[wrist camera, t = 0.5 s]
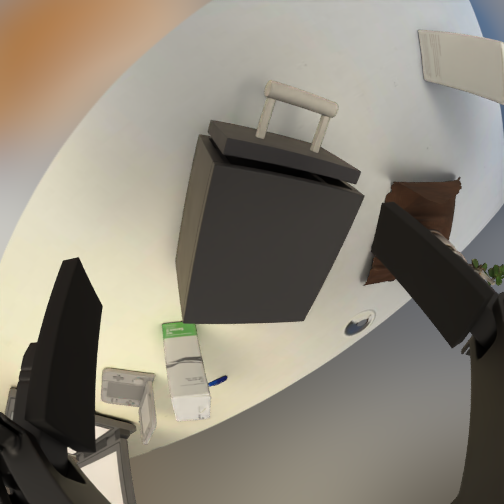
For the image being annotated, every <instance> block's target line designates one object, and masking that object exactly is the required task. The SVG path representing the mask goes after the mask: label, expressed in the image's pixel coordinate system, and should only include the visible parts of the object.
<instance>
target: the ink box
mask: <svg viewBox="0 0 504 504" xmlns="http://www.w3.org/2000/svg"><path fill="white" fill-rule="evenodd" d="M162 329H163V340H164V351H165V360H166V369H167V377H168V383H169V390H170V396H171V401H172V405H173V409H174V414H175V417H176V421H189V420H201V419H208V418H210V407H211V396H210V391H209V387H208V383H207V379H206V374H205V369H204V365H203V360H202V355H201V350H200V345H199V340H198V335H197V330H196V325H195V324H183V322H177V323H168V324H162Z"/></svg>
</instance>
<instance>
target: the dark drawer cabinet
mask: <svg viewBox="0 0 504 504" xmlns="http://www.w3.org/2000/svg"><path fill="white" fill-rule="evenodd" d="M215 148H217V149H219V148H218V146H217V145H216V143H215V142H214V140H213V139H212V137H211V136H205V135H199V137H198V141H197V146H196V150H195V155H194V159H193V164H192V169H191V174H190V179H189V184H188V189H187V194H186V200H185V205H184V211H183V216H182V222H181V228H180V234H179V241H178V247H177V254H176V271H177V280H178V289H179V297H180V305H181V312H182V319H183V324H246V323H277V322H297V321H304V319H305V318H306V316H307V314H308V312H309V310H310V308H311V306H312V305H313V303H314V301H315V299H316V297H317V295H318V293H319V291H320V289H321V287H322V285H323V283H324V282H325V280H326V278H327V276H328V274H329V272H330V270H331V268H332V266H333V264H334V262H335V260H336V257H337V255H338V253H339V251H340V249H341V247H342V245H343V243H344V241H345V239H346V236H347V234H348V232H349V230H350V228H351V226H352V223H353V221H354V219H355V217H356V215H357V212H358V210H359V208H360V206H361V203H362V201H363V199H364V195H363V194H362V193H360V192H359V191H358V190H356V189H355V188H354V187H352V186H351V185H350V184H348V183H347V182H346V181H342V180H338V179H334V178H331V177H327V176H323V175H319V174H316V175H317V176H319V177H320V178H321V179H323V180H324V181H325V182H326V183H328V184H326V183H322V182H318V181H314V180H309V179H305V178H300V177H296V176H291V175H286V174H281V173H276V172H271V171H266V170H261V169H256V168H250V167H245V166H239V165H233V164H227V163H224V162H223V160H222V159H221V157H220V156H219V154H218V152H217V151H216V149H215Z"/></svg>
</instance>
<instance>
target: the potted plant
mask: <svg viewBox="0 0 504 504" xmlns="http://www.w3.org/2000/svg"><path fill="white" fill-rule="evenodd" d="M459 180H460V176H459V178H458V179H457V180H454V181H447V182H410V183H407V182H394V184H392V186H391V189H392V192H391V193H388V194H387V195H386V199H385V203H387V202H395V203H396V204H398V205H399V206H400V207H401V208H403V209H404V210H405V211H406V212H408V213H409V214H410V215H411V216H413V217H414V218H415V219H416V220H418V221H419V222H420V223H421V224H422V225H424V226H425V227H426V228H427V229H428V230H429V231H431V232H432V233H433V234H434V235H435V236H436V237H438V238H439V239H440V240H441V241H442V242H443V243H444V244H445V245H446V246H448V247H449V248H450V249H451V250H452V251H453V252H454V253H456V254H458V255H459V256H461V257H462V258H463V259H464V260H465V261H466V259H465V257H464V256H463V255H462V254H461V253H460V252H458V251H456V249H455V247H454V246H453V245H452V244H451V243H450V242H449V236H450V233H451V228H452V222H453V216H454V208H455V198H456V194H458V193H459V190H460V189H461V188H462V186H461V183H460V182H461V181H459ZM373 261H374V262H373V264H372V269H371V270H370V275H369V277H368V279H367V282H366V284H365V285H369V284H374V283H380V282H385V281H390V282H391V281H394V280H395V279H396V278H395V277H394V276H393V275H392V274H391V273H390V271H389V270H388V269H387V268H386V267H385V266H384V265H383V264H382V262H381V261H380V260H379V259H378V258H377V257H376V256H375V257H374V258H373ZM466 262H467V261H466ZM468 265H470V266H471V267H472V268H473V269H474V271H475V272H477V273H478V274H479V275H480V276H481V277H482V278H483V279H486V280H487V282H488V284H489V285H491V284H492V285H494V284H495V281H493V280H494V279H495V278H496V284H497V285H498V286H499V285H500V283H502V280H501V279H503V278H504V276H503V277H501V276H502V275H504V265H503V264H502V265H501V266H500V267H499V266H498V265H494V267H493V268H490V269H489V270H488V273H489V276H490V277H492V279H491V278H490V277H489V276H488V275H487V273H486V272H485V270H486V269H487V264H486V263H484V264H483V265H478V261H477V259H472V264H468ZM479 269H480V270H479ZM482 270H483V271H484V272H485V274H484V273H483V272H482ZM365 285H362V286H365Z"/></svg>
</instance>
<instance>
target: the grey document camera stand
mask: <svg viewBox="0 0 504 504" xmlns="http://www.w3.org/2000/svg"><path fill="white" fill-rule="evenodd" d="M16 391H17V388H10V392H9V397H8V402H7V407H6V413H5V415H6V416H7V417H8V418H10V419H11V420H12V419H13V412H14V404H15V397H16ZM135 431H136V426H134V425H132V424H129V423H126V422H122V421H118V420H114V419H110V418H106V417H103V416H99V415H96V414H95V440H96V453H86V452H76V451H74V450H72V449H70V448H69V447H68V454H72V455H76V459H77V460H78V461H79V462H77V465H78V466H79V468H80V469H81V470H82V471H83V473H84V474H85V475H86V476H87V477H88V479H89V480H90V481H91V482H92V483H93V484H94V486H95V487H96V488H97V489H98V490H99V491H100V492H101V493H102V494H103V495H104V496H105V498H106V499H107V500H108V501H109V502H110V503H111V504H136V500H135V495H134V489H133V483H132V476H131V469H130V462H129V453H128V444H127V440H126V439H127V438H128V437H129V436H130V434H132V433H134V432H135Z"/></svg>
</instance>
